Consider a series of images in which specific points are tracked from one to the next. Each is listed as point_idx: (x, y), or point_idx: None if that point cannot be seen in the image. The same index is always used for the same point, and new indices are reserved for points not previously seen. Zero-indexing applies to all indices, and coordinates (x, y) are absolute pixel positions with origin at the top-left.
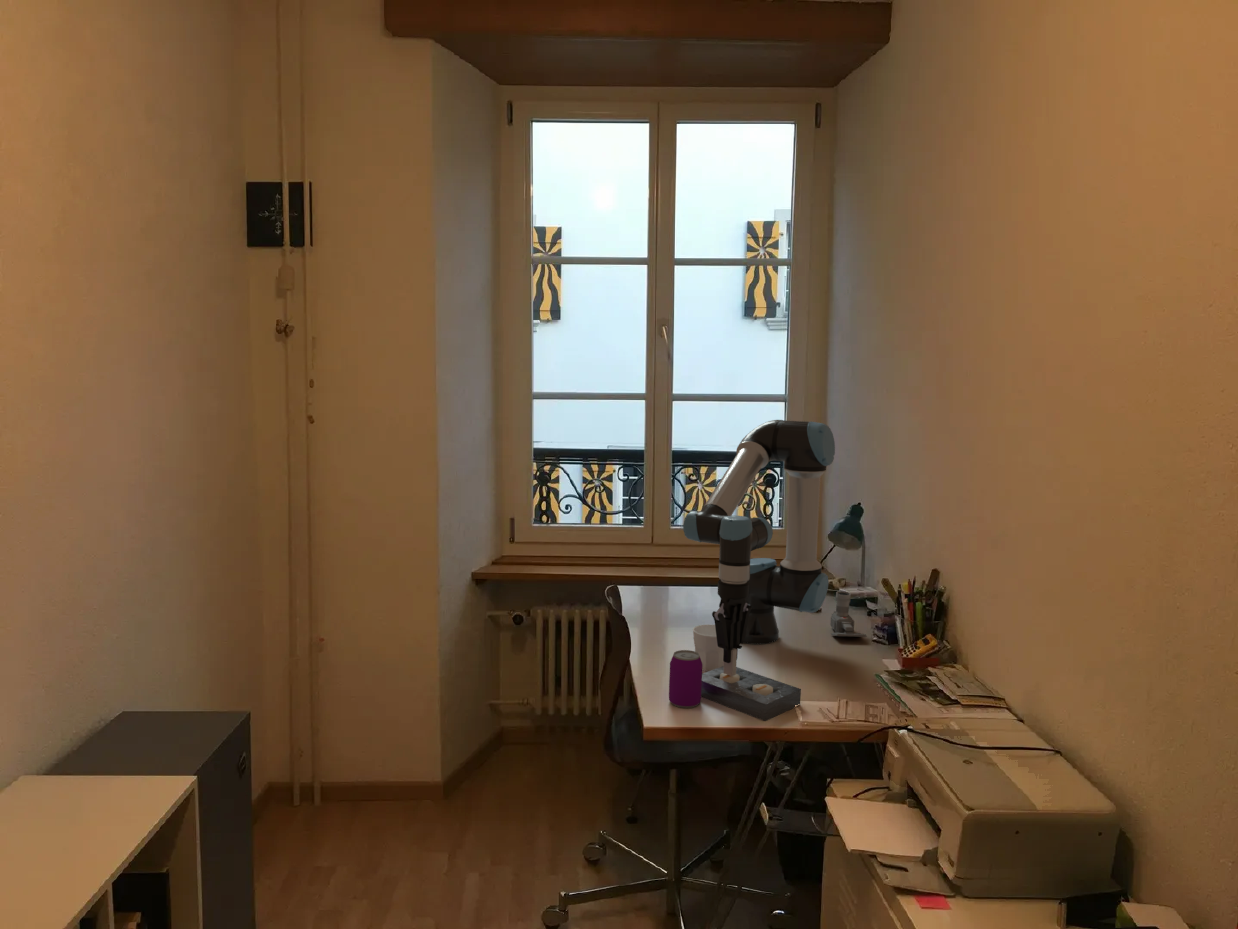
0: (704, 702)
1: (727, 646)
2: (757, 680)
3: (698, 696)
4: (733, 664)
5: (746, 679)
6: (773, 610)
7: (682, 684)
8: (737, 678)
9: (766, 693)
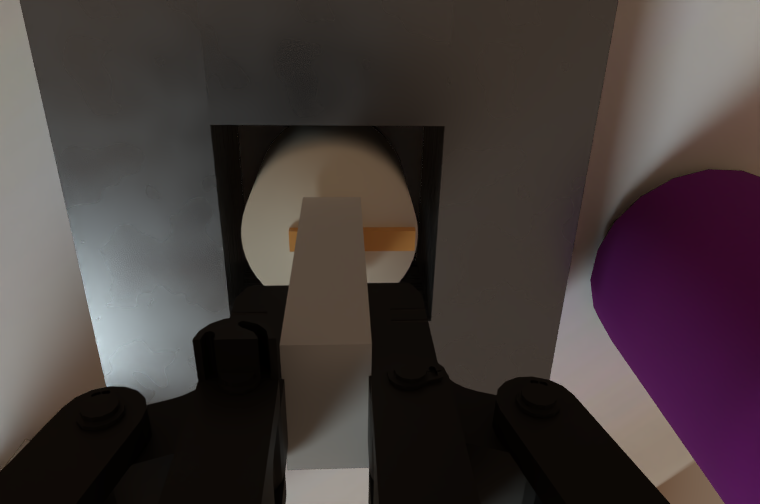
0: (593, 187)
1: (540, 405)
2: (175, 4)
3: (743, 188)
4: (347, 247)
5: (248, 99)
6: None
7: None
8: (327, 153)
9: None
